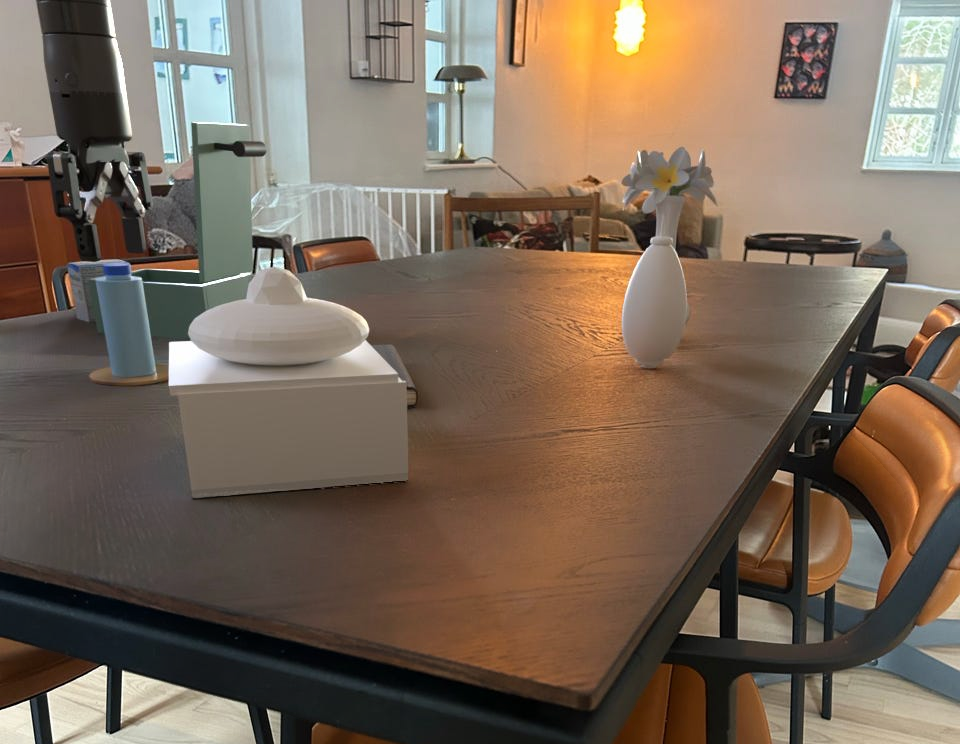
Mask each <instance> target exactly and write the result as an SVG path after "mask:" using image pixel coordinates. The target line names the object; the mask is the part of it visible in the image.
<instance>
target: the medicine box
mask: <svg viewBox="0 0 960 744" xmlns="http://www.w3.org/2000/svg"><path fill="white" fill-rule="evenodd" d="M109 263H127V264H130V265H131V263H130V262H128V261H124V260H121V259H117V258H116V259H115V258H114V259H101V260H100V261H97V262H86V261H74V262H68V263H66V267H67V272H68V278H69V283H70V288H71V293H72V299H73V304H74V309H75V314H76V319H77V320H80V321H84V322H87V323H93V322H95V323H96V321H95V315H94V309H93V304H92V298H91V293H90V287H89V282H88V280H89V279H93V278H99V277H104V276H105V274H104V272H103V265H104V264H109Z"/></svg>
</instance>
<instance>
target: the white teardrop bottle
mask: <svg viewBox="0 0 960 744" xmlns="http://www.w3.org/2000/svg"><path fill="white" fill-rule="evenodd" d="M664 230H665V213H664V214H663V217H662V223H661V231H660V236H657V237H655V236H653V237H651V238H650V241H649V243H650V245H649V246H648V247H647V248H646V249H645V250H644V252H643V253H642V255H641V256H640V258H639V259H638V262H637V263H636V265H635V267H634V270H633V272H632V274H631V277H630V279H629V282H628V285H627V288H626V291H625V296H624V299H623V305H622V312H621V334H622V339H623V340H622V341H623V344H624V346H625V349H626V351H627V354H628V356H630V357H631V358H635V359H634V362H635V364H638V365H641V368H643V369H649V370H650V369H656V368H657V366H661V365H663V364H664V362H665V360H667V359H670V358H671V357H672V356H673V355H674V353H675V351H676V350H677V348H678V347H679V344H680V342H681V339H682V337H683V334H684V331H685V326H686V325H685V321H686V313H687V302H688V301H687V300H688V296H687V287H686V280H685V274H684V270H683V267H682V264H681V261H680V258H679V256H678V253H677V251H676V249H675V250H674V248H673V247H672V246H671V245H670V244H672V238H670V237H665V236H664Z"/></svg>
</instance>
